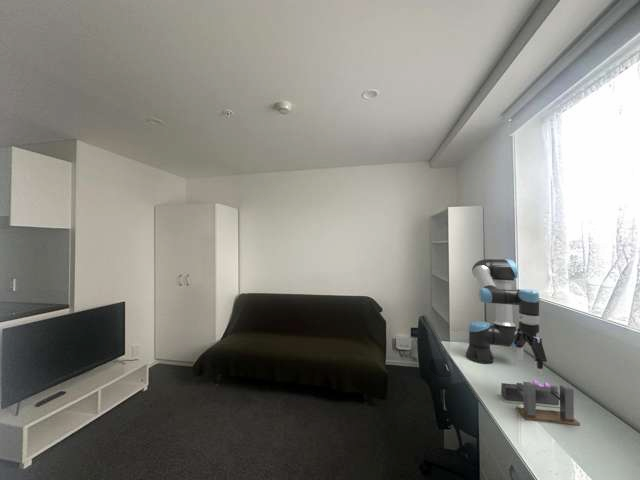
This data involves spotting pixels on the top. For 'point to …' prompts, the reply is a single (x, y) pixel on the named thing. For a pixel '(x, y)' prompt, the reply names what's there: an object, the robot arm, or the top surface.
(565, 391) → the hook rack
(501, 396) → the mat
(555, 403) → the rail
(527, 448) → the top surface
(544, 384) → the bracket
